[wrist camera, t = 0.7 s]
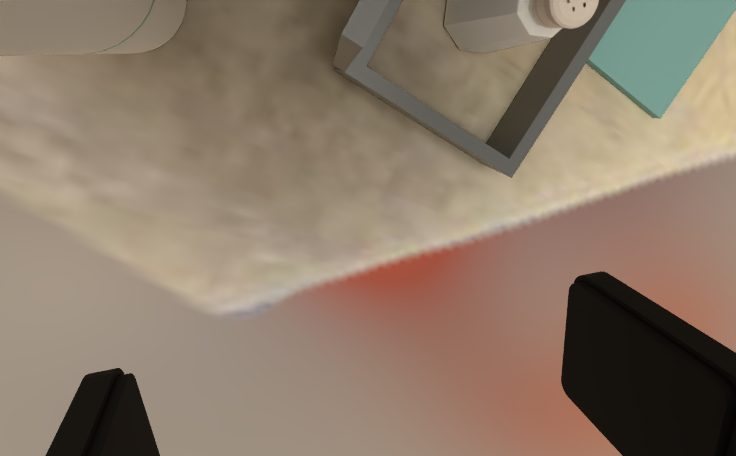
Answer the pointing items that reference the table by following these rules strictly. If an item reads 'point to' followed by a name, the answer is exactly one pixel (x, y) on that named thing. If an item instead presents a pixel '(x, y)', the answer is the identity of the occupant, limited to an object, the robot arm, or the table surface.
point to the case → (525, 110)
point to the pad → (658, 47)
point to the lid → (358, 31)
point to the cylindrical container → (87, 26)
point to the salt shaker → (511, 21)
